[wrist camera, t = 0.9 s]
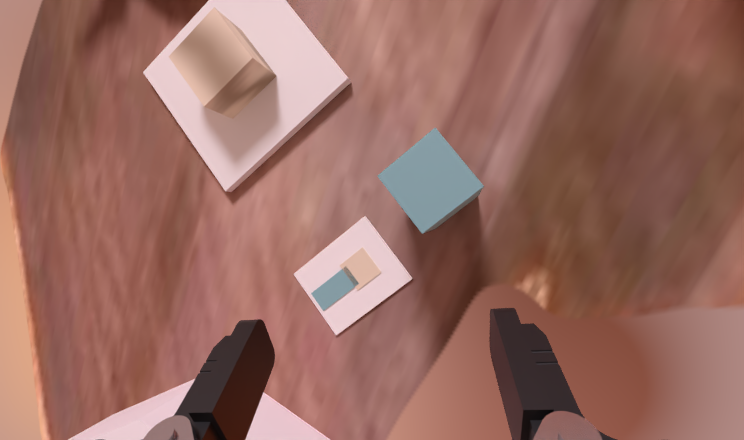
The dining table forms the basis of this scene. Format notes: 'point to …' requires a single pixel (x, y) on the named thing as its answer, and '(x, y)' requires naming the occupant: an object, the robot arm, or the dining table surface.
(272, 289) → the dining table surface
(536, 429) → the robot arm
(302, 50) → the build board
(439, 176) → the tall block
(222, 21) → the lower block
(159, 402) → the wide white block
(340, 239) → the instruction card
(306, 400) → the dining table surface
